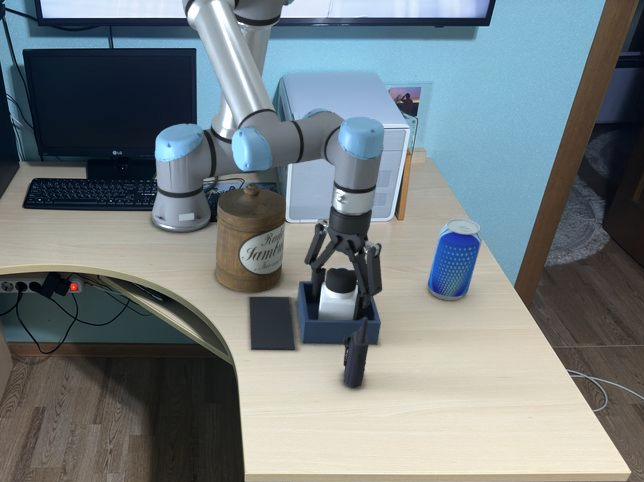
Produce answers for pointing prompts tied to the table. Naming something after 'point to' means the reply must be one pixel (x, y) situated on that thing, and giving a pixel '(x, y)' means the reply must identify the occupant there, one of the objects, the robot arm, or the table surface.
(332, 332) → the tote
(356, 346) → the two-way radio
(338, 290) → the medicine bottle
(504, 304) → the table surface
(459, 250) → the beer can
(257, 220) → the wooden container
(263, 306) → the mat
